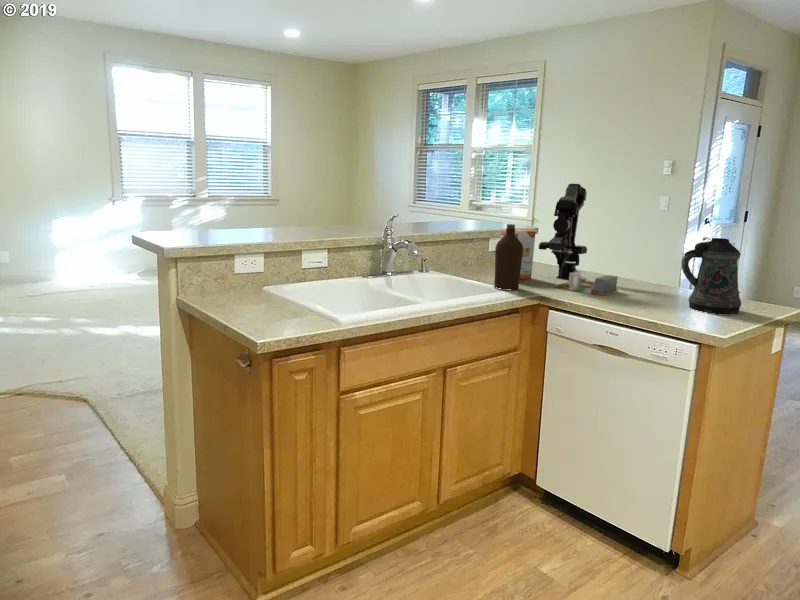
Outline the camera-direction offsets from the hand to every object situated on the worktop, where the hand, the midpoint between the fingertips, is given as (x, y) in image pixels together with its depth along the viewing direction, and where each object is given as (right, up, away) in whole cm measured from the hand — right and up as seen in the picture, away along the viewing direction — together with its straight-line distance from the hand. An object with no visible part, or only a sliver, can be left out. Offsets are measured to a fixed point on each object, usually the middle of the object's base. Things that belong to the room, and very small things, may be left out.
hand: (560, 268), depth 248 cm
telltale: (+3, -8, -9) cm, 12 cm away
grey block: (+6, -7, -5) cm, 10 cm away
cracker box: (-16, -4, +14) cm, 22 cm away
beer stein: (+43, -16, -35) cm, 58 cm away
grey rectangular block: (+14, -9, -11) cm, 20 cm away
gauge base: (+8, -9, -6) cm, 13 cm away
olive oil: (-24, -8, -10) cm, 27 cm away
